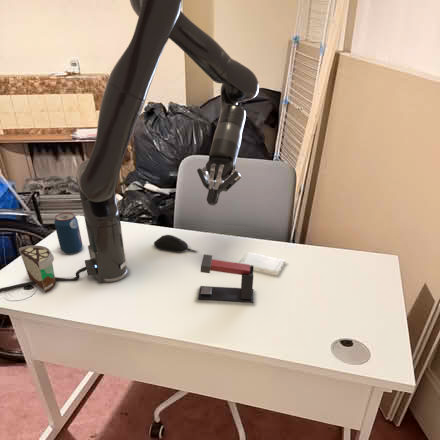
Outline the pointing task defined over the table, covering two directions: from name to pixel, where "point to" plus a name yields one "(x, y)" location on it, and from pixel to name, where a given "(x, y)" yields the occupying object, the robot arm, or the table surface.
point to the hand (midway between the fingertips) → (211, 204)
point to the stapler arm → (223, 266)
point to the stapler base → (230, 291)
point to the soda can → (68, 233)
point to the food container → (39, 266)
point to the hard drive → (263, 263)
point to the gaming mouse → (171, 244)
